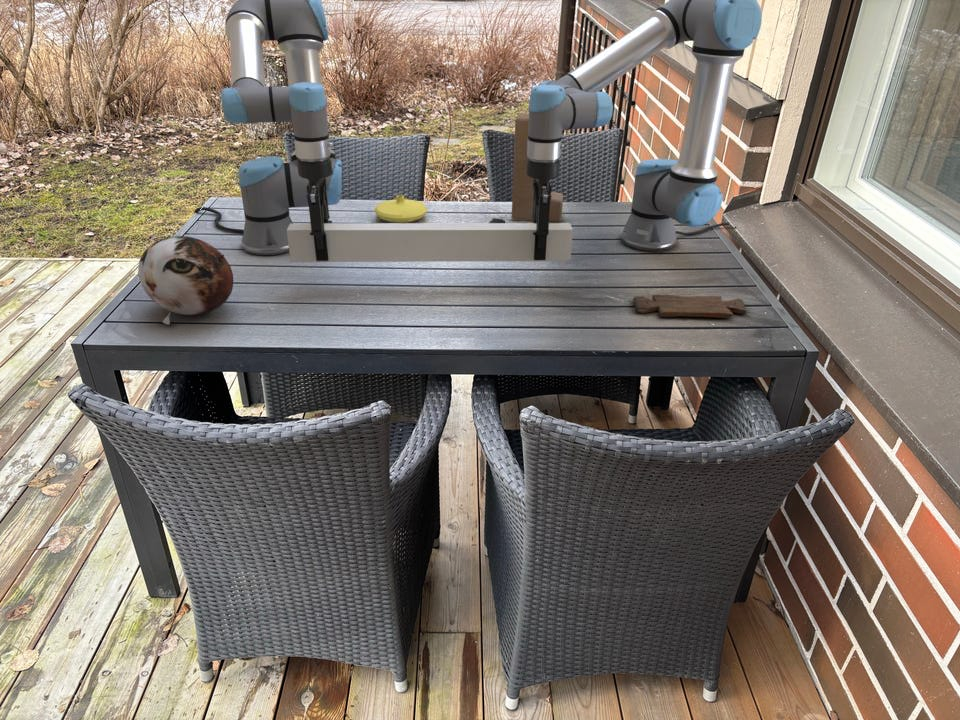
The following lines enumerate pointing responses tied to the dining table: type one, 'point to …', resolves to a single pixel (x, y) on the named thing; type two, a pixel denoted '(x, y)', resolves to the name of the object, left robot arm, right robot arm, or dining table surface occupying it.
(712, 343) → the dining table surface
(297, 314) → the dining table surface
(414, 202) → the yellow pattypan squash
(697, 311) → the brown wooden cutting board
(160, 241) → the eye print balloon
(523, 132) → the decorative block
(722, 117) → the right robot arm
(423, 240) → the beam
